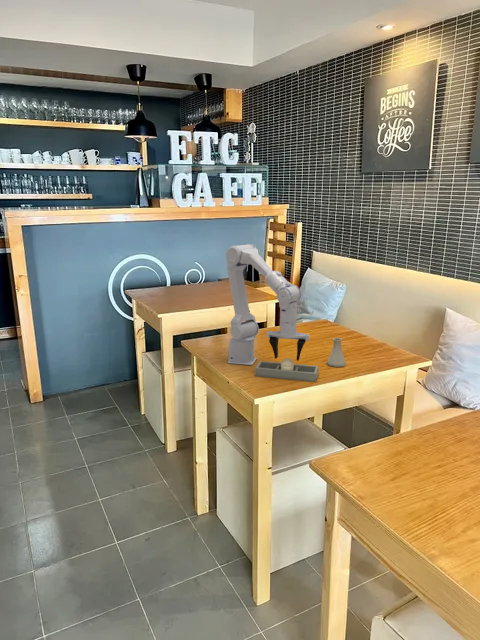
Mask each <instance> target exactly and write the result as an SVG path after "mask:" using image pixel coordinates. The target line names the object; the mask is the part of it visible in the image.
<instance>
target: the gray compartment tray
mask: <svg viewBox="0 0 480 640" xmlns="http://www.w3.org/2000/svg"><path fill="white" fill-rule="evenodd" d="M293 364H294V367H293V371H290V370H281V362H274V361H263V360H259V362H258V364H257V365H256V366H255V368H254V376H255V377H260V378H271V379H280V380H290V381H291V380H292V381H301V382H311V383H312V382H313V383H316V382H317V379H318V376H319V366H318V365H311V364H310V365H307V364H300V363H299V364H298V363H293Z"/></svg>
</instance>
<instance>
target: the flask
mask: <svg viewBox="0 0 480 640" xmlns="http://www.w3.org/2000/svg"><path fill="white" fill-rule="evenodd" d="M332 340H333V345H332V349H331V352H330V354H329V357H328V359H327V362H326V364H327V366H329V367H334V368H343V367H345V366H346V365H347V362H346V359H345V357H344V353H343V350H342V344H341V343H342V341H343V339H342V338H341V337H333V338H332Z"/></svg>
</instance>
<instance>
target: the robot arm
mask: <svg viewBox="0 0 480 640" xmlns="http://www.w3.org/2000/svg"><path fill="white" fill-rule="evenodd" d="M225 257H226V263H227V265H226V266H227V268H226V269H227V276H228V280H229V287H230V292H231V298H232V304H233V311H234V316H233V317H232V319H231V320H230V335H231V338H230V339H229V341H228V346H227V347H228V349H227V351H228V361H227V364H233V365H244V366H245V365H246V366H253V365H254V364H255V362H256V360H257V359H258V358H257V357H255V339H256V335H258V333H259V330H260V329H259V328H260V327H259V325H258V323H257V321H256V316H255V315H254V314H252V313H251V311H250V308H249V307H250V306H249V301H248V295H247V290H246V285H245V284H246V283H245V278H244V270H245V269H246V267H247V266H248V265H251V266H252V267H253V268H254V269H255V270H256V271H257V272H258V273H260V274H261V275H262V276H263V277H264V278H265V279H264V280H265V284H266V285H267V286H268V287H269V288H270V289H271V290H272V291H273V292H274V293H275V294H276V299H277V302H278V303H279V306H278V307H279V308H280V309H279V310H280V311H279V330H268V331H267V332H266V339H269V340H268V342H269V344H270V345H271V348H272V351H273V355H274V359H278V357H279V347H278V346H279V339H286V340H296V341H297V343H296V345H297V346H296V353H297V354H296V361H299V360H300V358H301V354H302V350H303V348H304V345H305V344H306V342H309V341H310V334H309V333H302V332H297V325H298V324H297V323H298V321H297V320H298V317H297V316H298V302H299V301H300V300H301V297H302V292H301V289H300V287H299V286H298V285H296V284H292V283H291V282H290V281H288V280H287V279H286V278H285V277H284V275H283V273H281V271H278V270H273V269H272V268H271V267H270V266H269V265H268V264H267V262H266V261H265V260H264V258H263V257H262V256H261V255H260V254H259V249H258V248H256V247H255V245H254V244H251V243H247V244H242V245H241V244H240V245H231V246H229V248H228V249H227V251H226V252H225Z"/></svg>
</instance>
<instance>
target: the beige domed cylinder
mask: <svg viewBox="0 0 480 640" xmlns="http://www.w3.org/2000/svg"><path fill="white" fill-rule="evenodd" d="M280 363H281V370H290V371H293V367H294V364H295V363H294V361H293V360H292V359H291V358H288V357H287V358H284V359H282V360H281V362H280Z"/></svg>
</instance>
